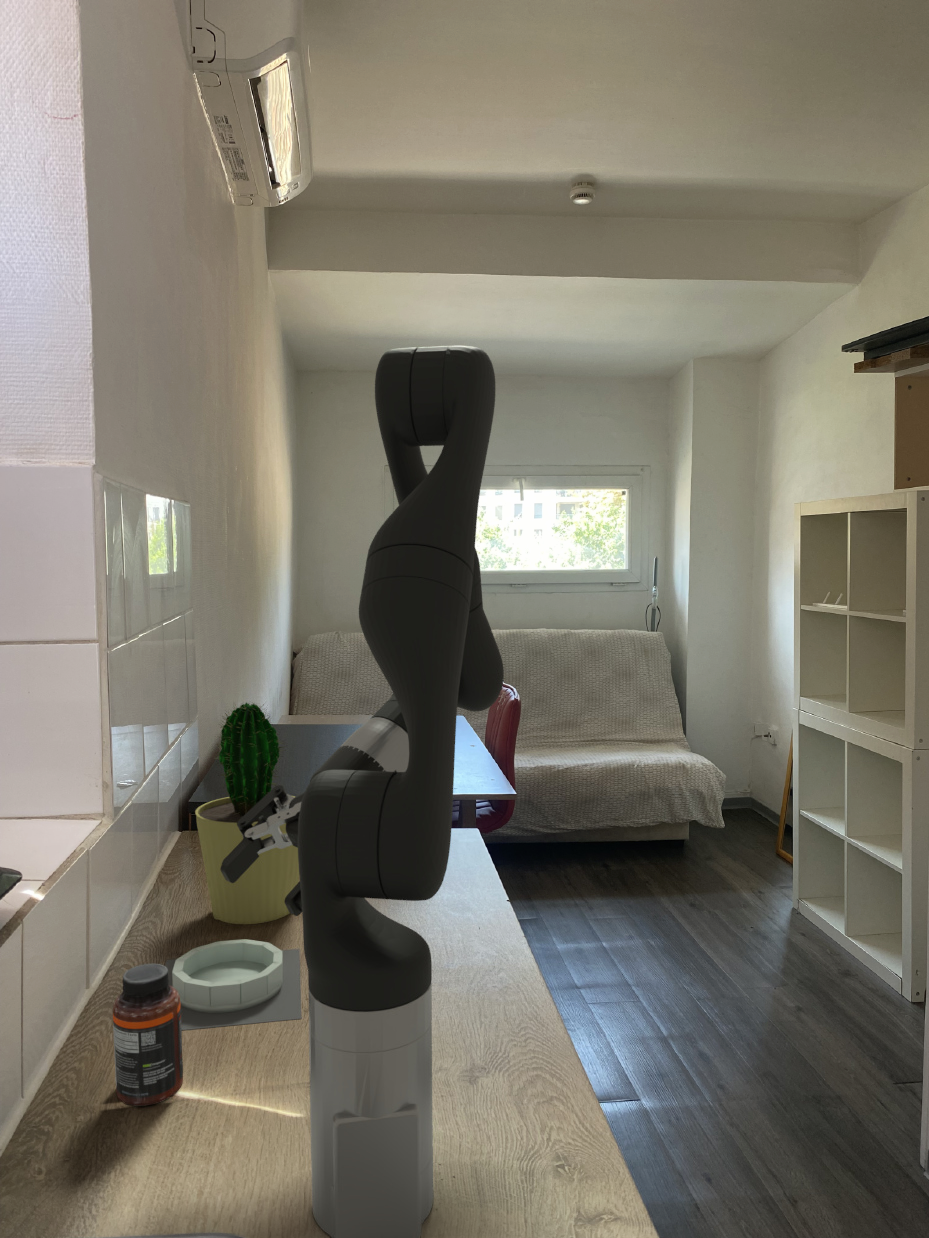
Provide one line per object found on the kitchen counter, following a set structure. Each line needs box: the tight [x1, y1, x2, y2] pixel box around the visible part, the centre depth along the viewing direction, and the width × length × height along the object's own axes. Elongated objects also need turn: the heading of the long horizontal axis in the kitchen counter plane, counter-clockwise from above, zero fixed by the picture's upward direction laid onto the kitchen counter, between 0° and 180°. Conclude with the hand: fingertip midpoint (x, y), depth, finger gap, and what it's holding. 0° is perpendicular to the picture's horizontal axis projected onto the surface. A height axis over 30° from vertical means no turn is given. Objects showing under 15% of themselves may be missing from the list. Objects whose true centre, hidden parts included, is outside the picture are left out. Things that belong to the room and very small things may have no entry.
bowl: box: [172, 938, 283, 1013], centre depth 105 cm, size 12×12×3 cm
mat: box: [164, 948, 302, 1032], centre depth 105 cm, size 18×16×1 cm
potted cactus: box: [194, 701, 300, 925], centre depth 128 cm, size 15×15×30 cm
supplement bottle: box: [112, 963, 184, 1107], centre depth 85 cm, size 6×6×11 cm
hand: (256, 892), depth 83 cm, fingers open, 8 cm apart
